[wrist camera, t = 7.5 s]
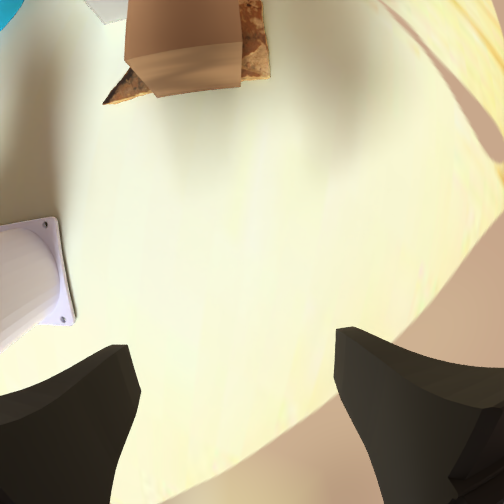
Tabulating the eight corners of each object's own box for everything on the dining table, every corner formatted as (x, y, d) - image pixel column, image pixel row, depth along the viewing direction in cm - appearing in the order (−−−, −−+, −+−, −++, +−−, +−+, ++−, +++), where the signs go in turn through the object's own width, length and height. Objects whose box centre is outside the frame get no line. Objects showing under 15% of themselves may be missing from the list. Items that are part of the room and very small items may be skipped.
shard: (110, 109, 17) (100, 103, 16) (113, 22, 16) (105, 12, 14) (269, 87, 18) (273, 77, 16) (258, 0, 16) (260, -13, 14)
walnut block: (157, 97, 16) (124, 60, 10) (156, 31, 15) (130, -18, 9) (240, 87, 16) (242, 41, 10) (234, 21, 15) (234, -35, 9)
